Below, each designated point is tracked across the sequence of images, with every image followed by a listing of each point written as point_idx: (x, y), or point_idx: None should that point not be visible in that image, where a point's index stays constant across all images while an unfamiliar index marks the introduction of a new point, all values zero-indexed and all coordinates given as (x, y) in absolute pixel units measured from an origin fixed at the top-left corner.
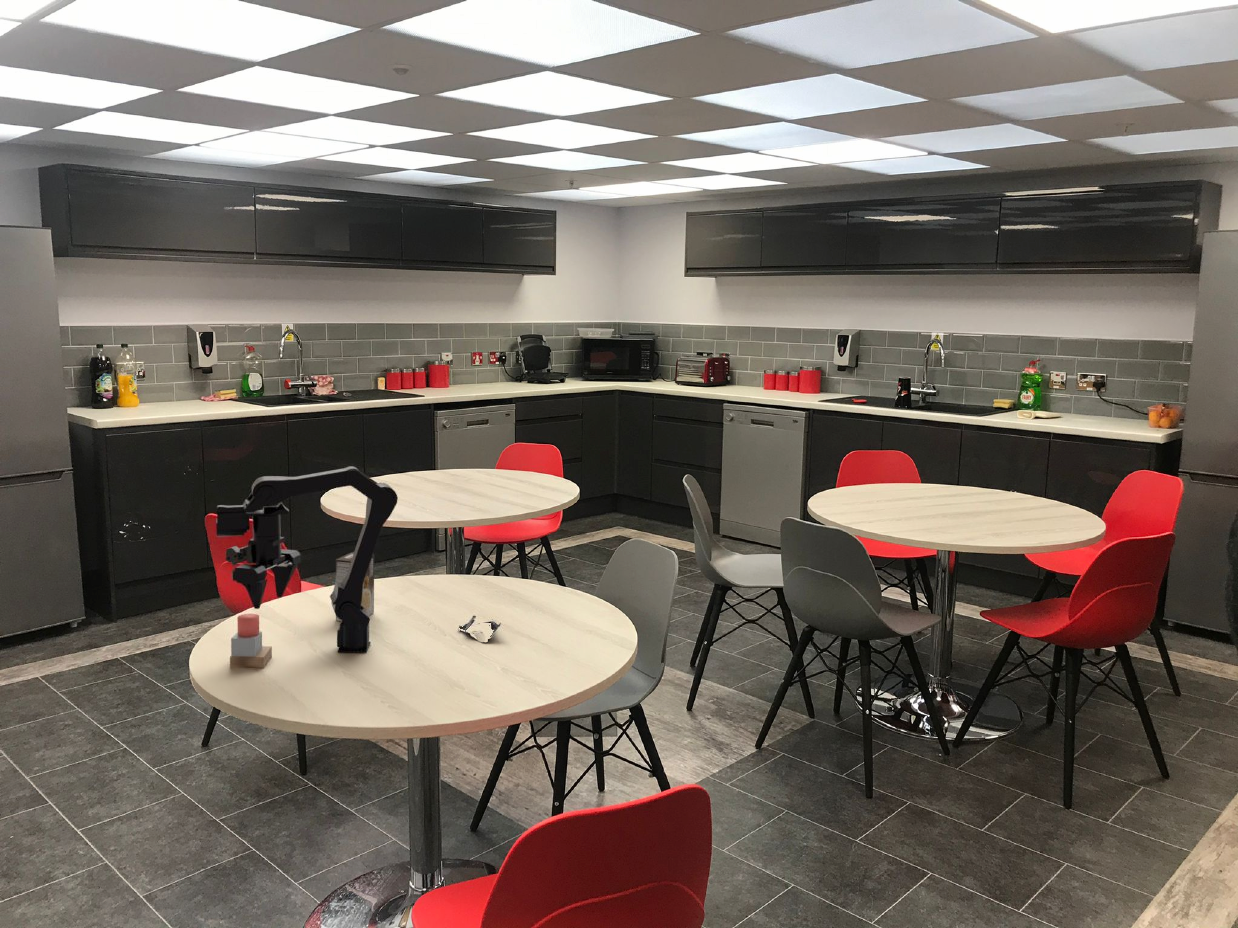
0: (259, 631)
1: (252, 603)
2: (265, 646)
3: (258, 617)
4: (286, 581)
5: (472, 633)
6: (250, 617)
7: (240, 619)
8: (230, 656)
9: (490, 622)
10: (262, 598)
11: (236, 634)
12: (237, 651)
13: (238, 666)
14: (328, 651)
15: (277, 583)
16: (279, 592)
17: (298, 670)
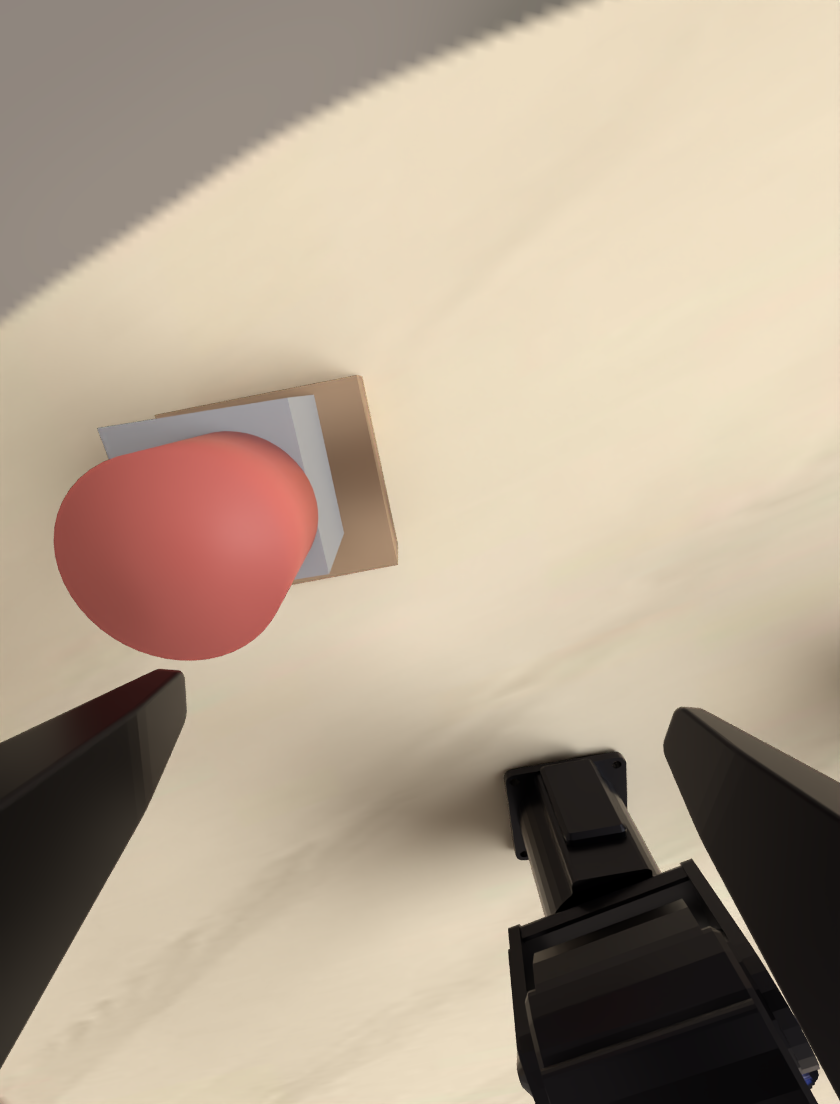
0: (325, 557)
1: (91, 702)
2: (387, 533)
3: (202, 656)
4: (813, 1048)
5: None
6: (154, 597)
7: (59, 526)
8: (164, 414)
9: (813, 1074)
10: (97, 888)
11: (201, 423)
12: None
13: None
14: (516, 732)
15: (833, 872)
16: (701, 776)
17: (268, 713)
